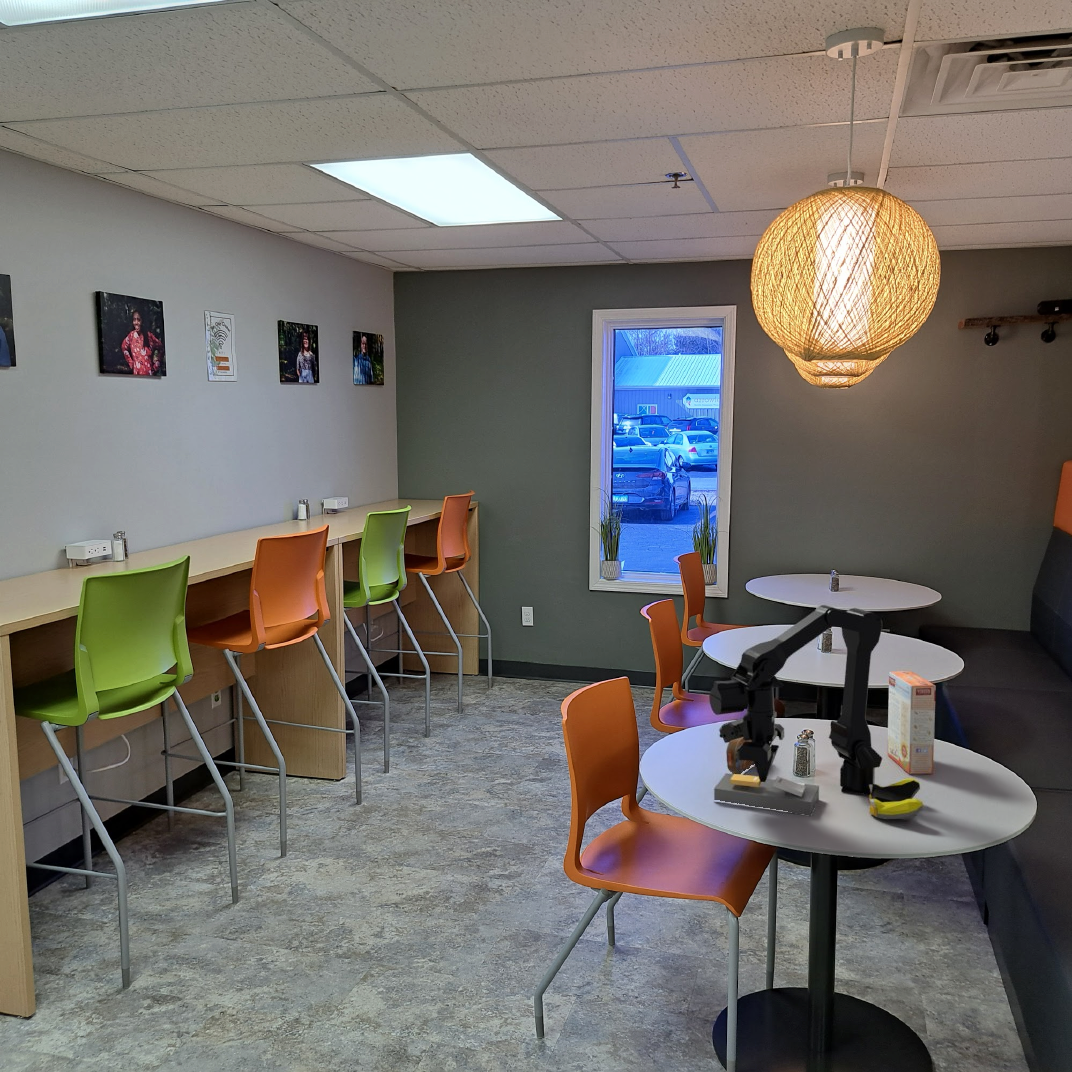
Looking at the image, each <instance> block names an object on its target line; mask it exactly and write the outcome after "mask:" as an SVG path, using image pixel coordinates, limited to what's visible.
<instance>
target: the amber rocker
mask: <svg viewBox="0 0 1072 1072" xmlns="http://www.w3.org/2000/svg"><path fill="white" fill-rule="evenodd" d="M733 774H734V775H733V776H732V778H731V779H730V784H735V785H744V786H753V787H759V786H760V784H761V783H762V782H761V781H760V779H759V776H758V775H757V776H756V775H747V774H746V775H745V774H743V775H740V774H735V773H733Z"/></svg>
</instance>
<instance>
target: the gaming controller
mask: <svg viewBox="0 0 1072 1072" xmlns="http://www.w3.org/2000/svg"><path fill="white" fill-rule="evenodd" d="M869 787H870V791H871V794H870V795H868V796H869V800H868V803H869V807H868V808H869V810H868V811H869V814H871V815H872V816H874V817H875V818H879V819H885V820H909V819H912V818H914V817H915V816H917V815H919V814H920V813H921V811H922V810H923V809H924V803H923V801H922V800H920V799H919V798H914V797H915V796H916V794H917V793H918V792H919V790H921V785H920V782H919V781H918V780H916V779H915V778H913V777H912V778H904V779H901V780H900V781H897V782H894V783H892V784H891V783H890V784H888V785H886V786H881V785H879V784H877V783H876V784H873V785H869Z"/></svg>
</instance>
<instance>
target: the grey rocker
mask: <svg viewBox="0 0 1072 1072" xmlns="http://www.w3.org/2000/svg"><path fill="white" fill-rule="evenodd" d="M774 780H775V781H774V783H773V786H774V787H777V788H779V789H782V790H785V791H787V792H790V793H792V794H795V795H798V796H800V797H801V796H802V795H803V793H804V791H805V786H803V785H800V784H797V783H798V782H796V783H795V782H794V781H792V780H789V779H787V778H784V777H780V776H778V775H777V776H776V778H775V779H774Z"/></svg>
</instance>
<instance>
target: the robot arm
mask: <svg viewBox="0 0 1072 1072" xmlns="http://www.w3.org/2000/svg"><path fill="white" fill-rule="evenodd" d="M832 627H837V628H841V634H842V635H841V636H842V639H843V642H844V645H845V647H846V652H847V653H846V663H845V672H844V673H845V674H844V685H843V686H844V687H843V698H842V710H841V714H840V716H839V717H838V719H837V720H831V721H830V733H829V735H828V739H829V740H830V742H831V746H832V747H833V749H834V750H835V751H836V752H837V754H838V757H839V758H841V759H843V761H842V765H841V766H840V769H839V771H840V772H839V777H840V778H839V786H840V787H841V789H840V790H841V791H840V792H843V793H847V794H855V795H864V796H869V795H870V794H871V791H870V787H869V785H873V784H875V778H876V777H875V775H876V774H875V773H876V771H875V768H879V767H881V764H882V760H883V757H882V756H881V755H880V754H879V753H878V752H877V751H876V750H875V749H874V748H873V747H872V734H871V731H870V728H869V724H868V722H867V719H866V715H867V714H866V713H867V704H868V693H869V691H868V690H869V682H870V681H869V680H870V671H871V669H870V668H871V658H872V652H873V651H874V649H875V648H876V646H877V645H878V644H879V642H880V638H881V634H882V633H881V632H882V630H883V621H882V619H881V618H880V616H879V615H878V614H877V613H875V612H871V611H868V610H865V609H860V608H856V607H854V608H850V609H848V610H844V609H839V608H836V607H832V606H831V605H827V604H822V605H819V606H817V607H816V609H815V610H814V611H812V612H811V613H810V614H808V615H807V616H805V617H804V618H803V619H801V620H800V621H798V622H797V623H795V624H794V625H793V626H791V627H790V628H788V629H787V630H785V631H784V632H783V633H781V634H780V635H778V636H777V637H776V638H773V639H771V640H769V641H764V642H760V643H758V644H755V645H754V646H751V647H750V648H747V649H745V651H744V652H743V653H742V654H741V658H740V662H739V663H738V665H737V667H736V668H735V670H734V672H733V673H732V675H731V677H730V679H731V680H724V681H723V680H722V681H721V680H716V681H713V687H712V688H711V690H710V693H709V695H708V697H709V705H710V708H711V711H712V712H713V713H714V714H715V715H717V716H720V715H727V714H728V715H729V714H734V713H742V712H744V711H745V712H746V713H745V714H744V715H743V716H742V718H739V719H736V720H732V721H729V722H726V723H723V724H722V725H721V726H720V728H719V729H718V731H719V738H721V739H722V740H723V742H724V744H727V743H729V742H730V741H731V740H735V739H738V738H741V737H743V740H748V741H749V740H751V741H752V742H746V741H745V742H744V743H743V744H742V745H741V746H740V747H739V748H738V750H737V759H739V760H746V761H754V764H755V769H756V772H757V776H758V777H759V779H760V781H761V782H765V781H766V780H767V779H768V776H769V774H770V771H771V769H772V766H773V764H774V762H775V759H776V758H775V757H776V756H777V753H778V750H779V748H780V745H777V744H773V742H774V741H775V739H776V738H777V737H778V739H779V741H783V739H784V738H785V728H784V726H783V725H781V723H776V722H775V719H776V718H777V717H778V716H777V711H775V702H774V701H775V699H774V698H775V697H774V696H775V695H774V693H775V692H774V689H775V688H783V687H784V684H783V683H782V682H781V680H779V679H778V678H777V677H776V675H777V674H778V673H779V672H780V671H781V670H782V669H783V667H784V666H785V664H786V663H787V660H788V659H789V658H790V657H791V656H792V655H794V654H795V653H796V652H798V651H800V650H801V649H802V648H804V647H805V646H807V645H808V644H810V642H812V641H813V640H815V639H816V638H818V637H819V636H821V635H822V634H823V633H825V632H826V631H828V630H829V629H831V628H832ZM747 675H750V676H751V677H749V676H747Z"/></svg>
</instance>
